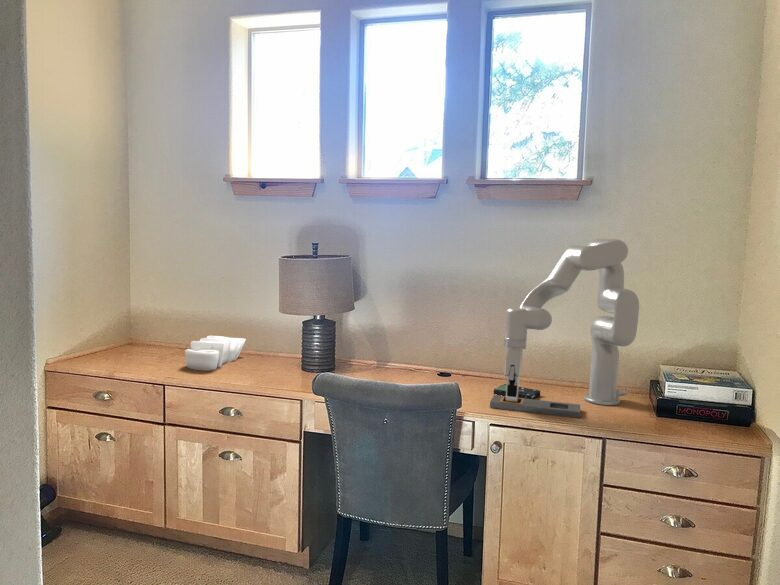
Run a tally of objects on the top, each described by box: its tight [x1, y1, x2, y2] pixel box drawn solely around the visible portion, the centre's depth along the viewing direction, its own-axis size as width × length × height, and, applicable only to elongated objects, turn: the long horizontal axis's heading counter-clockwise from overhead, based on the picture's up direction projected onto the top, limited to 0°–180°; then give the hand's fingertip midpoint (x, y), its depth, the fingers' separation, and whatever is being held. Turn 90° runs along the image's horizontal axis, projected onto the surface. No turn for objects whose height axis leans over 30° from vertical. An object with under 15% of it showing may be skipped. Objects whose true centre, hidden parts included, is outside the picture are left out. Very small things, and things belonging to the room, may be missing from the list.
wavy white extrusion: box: [184, 334, 247, 372], centre depth 267 cm, size 35×16×11 cm, turn 168°
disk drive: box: [493, 383, 541, 400], centre depth 232 cm, size 10×3×15 cm
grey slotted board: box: [489, 394, 581, 419], centre depth 214 cm, size 30×10×2 cm, turn 73°
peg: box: [505, 374, 521, 403], centre depth 216 cm, size 4×4×10 cm
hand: (512, 394), depth 216 cm, fingers closed on peg, 3 cm apart
